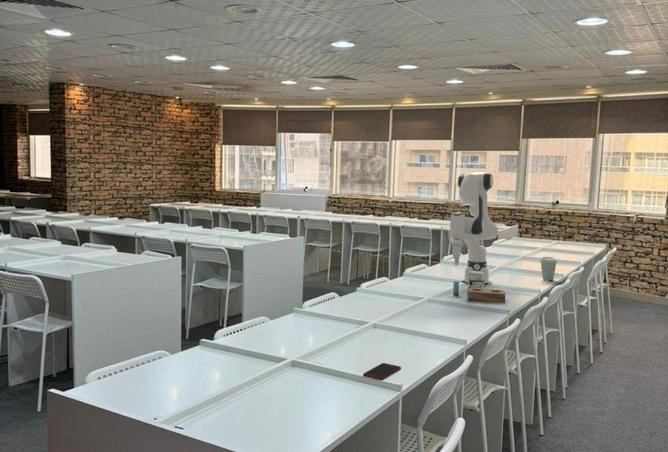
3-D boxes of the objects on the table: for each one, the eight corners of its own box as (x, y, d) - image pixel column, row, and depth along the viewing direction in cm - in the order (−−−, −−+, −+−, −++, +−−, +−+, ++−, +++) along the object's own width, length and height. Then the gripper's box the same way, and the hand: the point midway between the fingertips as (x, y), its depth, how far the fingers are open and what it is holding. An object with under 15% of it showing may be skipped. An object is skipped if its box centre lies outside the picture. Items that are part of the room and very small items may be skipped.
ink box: (467, 291, 342) (468, 271, 340) (469, 289, 346) (470, 270, 345) (481, 292, 338) (482, 273, 336) (483, 291, 342) (484, 271, 341)
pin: (453, 294, 332) (453, 280, 331) (458, 294, 331) (458, 281, 330) (453, 295, 329) (453, 281, 328) (458, 295, 328) (458, 282, 328)
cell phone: (362, 376, 196) (362, 374, 196) (382, 365, 208) (383, 362, 208) (381, 381, 192) (381, 378, 192) (401, 369, 204) (401, 366, 204)
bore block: (468, 296, 327) (468, 287, 327) (504, 298, 322) (504, 289, 322) (467, 300, 316) (467, 291, 315) (505, 303, 311) (505, 294, 310)
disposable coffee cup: (559, 281, 378) (560, 258, 377) (546, 282, 374) (548, 259, 373) (548, 278, 388) (549, 256, 387) (535, 279, 384) (536, 257, 383)
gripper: (452, 238, 338) (452, 261, 339) (450, 241, 318) (450, 266, 319) (463, 238, 336) (462, 261, 338) (462, 242, 317) (461, 266, 318)
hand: (456, 264), depth 328 cm, fingers open, 8 cm apart
